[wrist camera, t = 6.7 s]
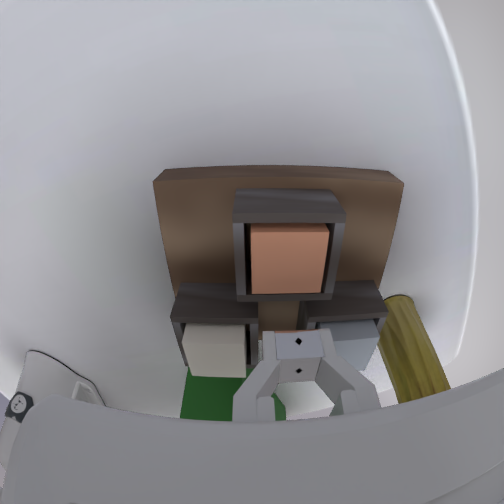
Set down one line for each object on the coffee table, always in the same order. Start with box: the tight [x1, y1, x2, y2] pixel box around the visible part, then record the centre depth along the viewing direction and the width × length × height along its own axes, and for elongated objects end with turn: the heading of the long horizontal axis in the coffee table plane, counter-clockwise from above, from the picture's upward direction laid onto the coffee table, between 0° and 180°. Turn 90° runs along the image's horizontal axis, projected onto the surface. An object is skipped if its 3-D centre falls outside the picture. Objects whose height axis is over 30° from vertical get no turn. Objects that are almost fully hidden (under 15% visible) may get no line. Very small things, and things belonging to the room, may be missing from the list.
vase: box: [377, 296, 451, 404], centre depth 23 cm, size 6×6×14 cm
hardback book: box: [180, 367, 286, 421], centre depth 27 cm, size 18×7×24 cm, turn 22°
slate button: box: [315, 319, 380, 371], centre depth 21 cm, size 4×4×3 cm
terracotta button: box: [251, 223, 329, 294], centre depth 18 cm, size 4×4×3 cm
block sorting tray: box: [153, 165, 404, 368], centre depth 22 cm, size 16×18×7 cm
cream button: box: [182, 323, 247, 378], centre depth 21 cm, size 4×4×3 cm
